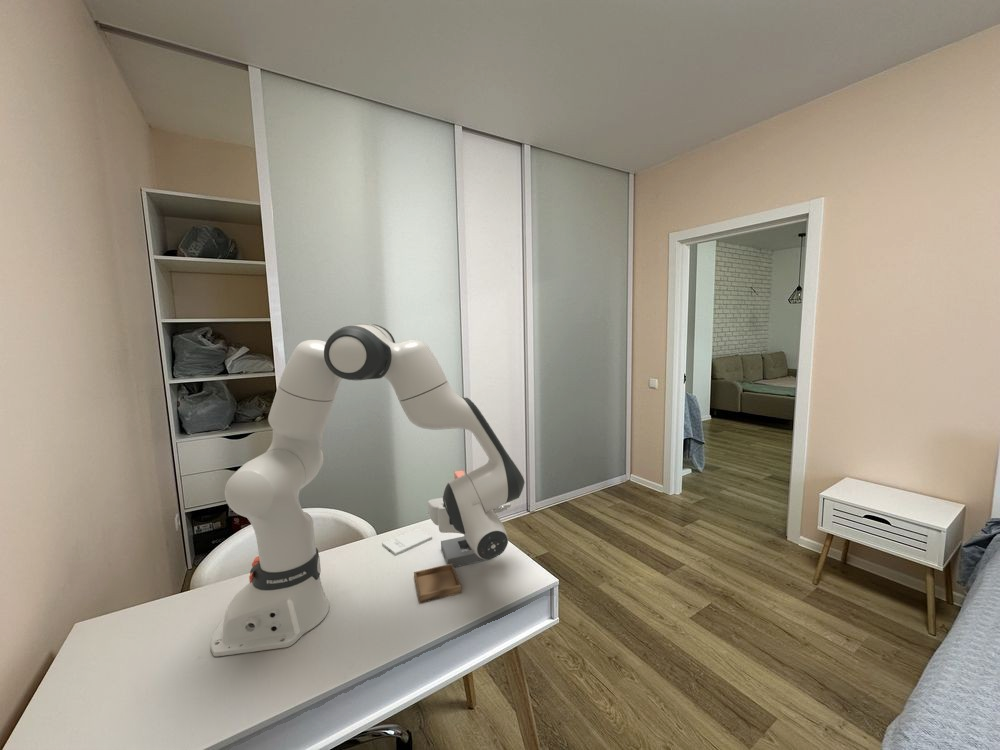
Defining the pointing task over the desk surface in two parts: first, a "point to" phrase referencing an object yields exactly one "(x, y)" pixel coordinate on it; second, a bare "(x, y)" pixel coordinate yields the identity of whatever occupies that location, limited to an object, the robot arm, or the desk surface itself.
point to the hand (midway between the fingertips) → (460, 493)
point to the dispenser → (458, 552)
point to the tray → (436, 583)
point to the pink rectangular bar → (458, 474)
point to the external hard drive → (407, 541)
